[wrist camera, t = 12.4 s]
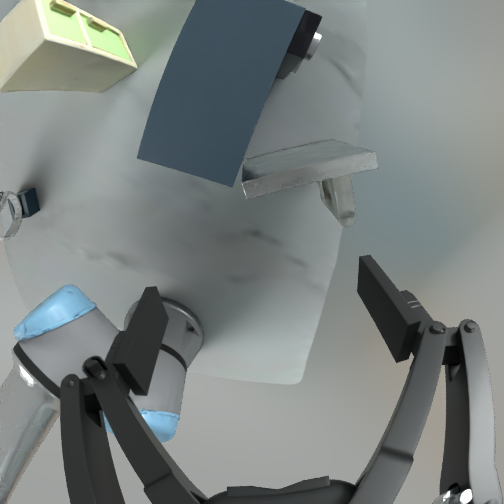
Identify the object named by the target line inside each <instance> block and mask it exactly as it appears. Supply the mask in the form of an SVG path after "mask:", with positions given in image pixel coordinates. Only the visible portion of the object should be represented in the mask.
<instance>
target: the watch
mask: <svg viewBox="0 0 504 504" xmlns="http://www.w3.org/2000/svg"><path fill="white" fill-rule="evenodd" d="M7 198H8V203H9V207H10V211H11V215H12V219H13V222H12V224H11V227H10V229H9V230H8V232H7V233H6V235H5V236H4V237H3V236H1V235H0V240H7V239H10V238H12V237H14V235H15V234H16V232H17V231H18V229H19V227H20V224H21V222H22V219H23V218H27V217H31V216H32V215H34V214H35V213H37V212H38V211H40V209H39V205H38V201H37V196H36V192H35V188H33V189H29V190H26V191H23V192H20V193H17V194H14V193H13V192H10V191H7V192H3V191H1V192H0V212H1V210H2V209H3V207H4V206H5V203H6V200H7Z"/></svg>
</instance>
